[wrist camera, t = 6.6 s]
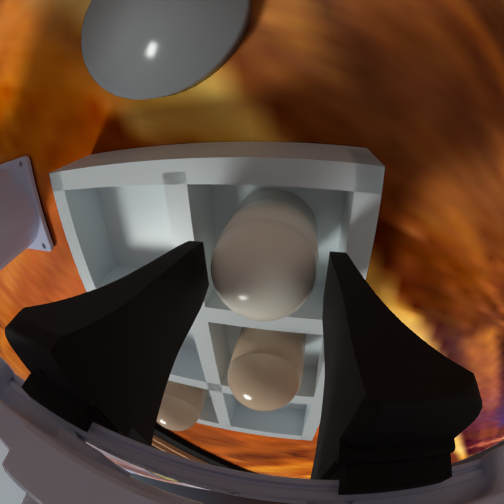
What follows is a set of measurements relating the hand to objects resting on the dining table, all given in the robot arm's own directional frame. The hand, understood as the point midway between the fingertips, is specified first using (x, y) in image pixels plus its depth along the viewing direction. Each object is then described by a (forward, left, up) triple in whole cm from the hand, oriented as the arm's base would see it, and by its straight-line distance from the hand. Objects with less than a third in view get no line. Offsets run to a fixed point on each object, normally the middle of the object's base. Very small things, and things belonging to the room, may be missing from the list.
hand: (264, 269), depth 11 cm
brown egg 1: (-7, -14, -3) cm, 16 cm away
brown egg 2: (0, -7, -3) cm, 8 cm away
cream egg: (0, 0, -3) cm, 3 cm away
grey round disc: (-5, +11, -4) cm, 13 cm away
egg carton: (-3, -7, -4) cm, 9 cm away
